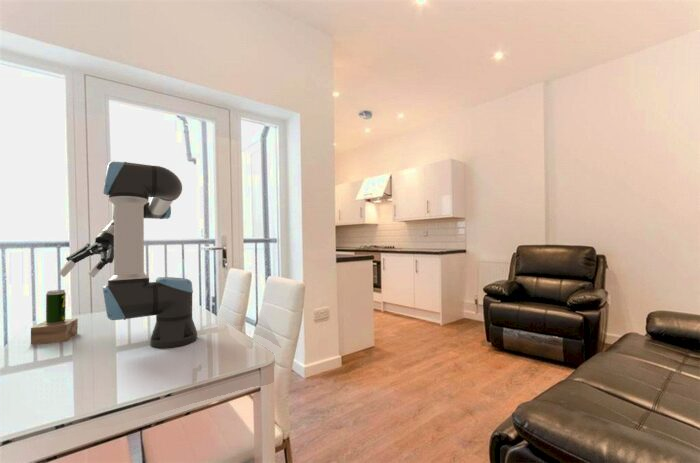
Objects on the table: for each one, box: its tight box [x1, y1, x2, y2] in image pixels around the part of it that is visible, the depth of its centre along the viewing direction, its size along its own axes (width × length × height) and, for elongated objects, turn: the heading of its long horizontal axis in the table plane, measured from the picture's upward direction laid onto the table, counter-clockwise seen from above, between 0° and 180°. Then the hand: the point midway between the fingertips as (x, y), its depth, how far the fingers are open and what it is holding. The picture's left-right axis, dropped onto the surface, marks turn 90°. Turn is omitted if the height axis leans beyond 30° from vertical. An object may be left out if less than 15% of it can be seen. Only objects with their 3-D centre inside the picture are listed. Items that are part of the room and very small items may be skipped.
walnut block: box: [30, 318, 79, 346], centre depth 121 cm, size 10×10×6 cm
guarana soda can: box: [45, 289, 67, 325], centre depth 121 cm, size 5×5×12 cm
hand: (76, 275), depth 128 cm, fingers open, 13 cm apart
